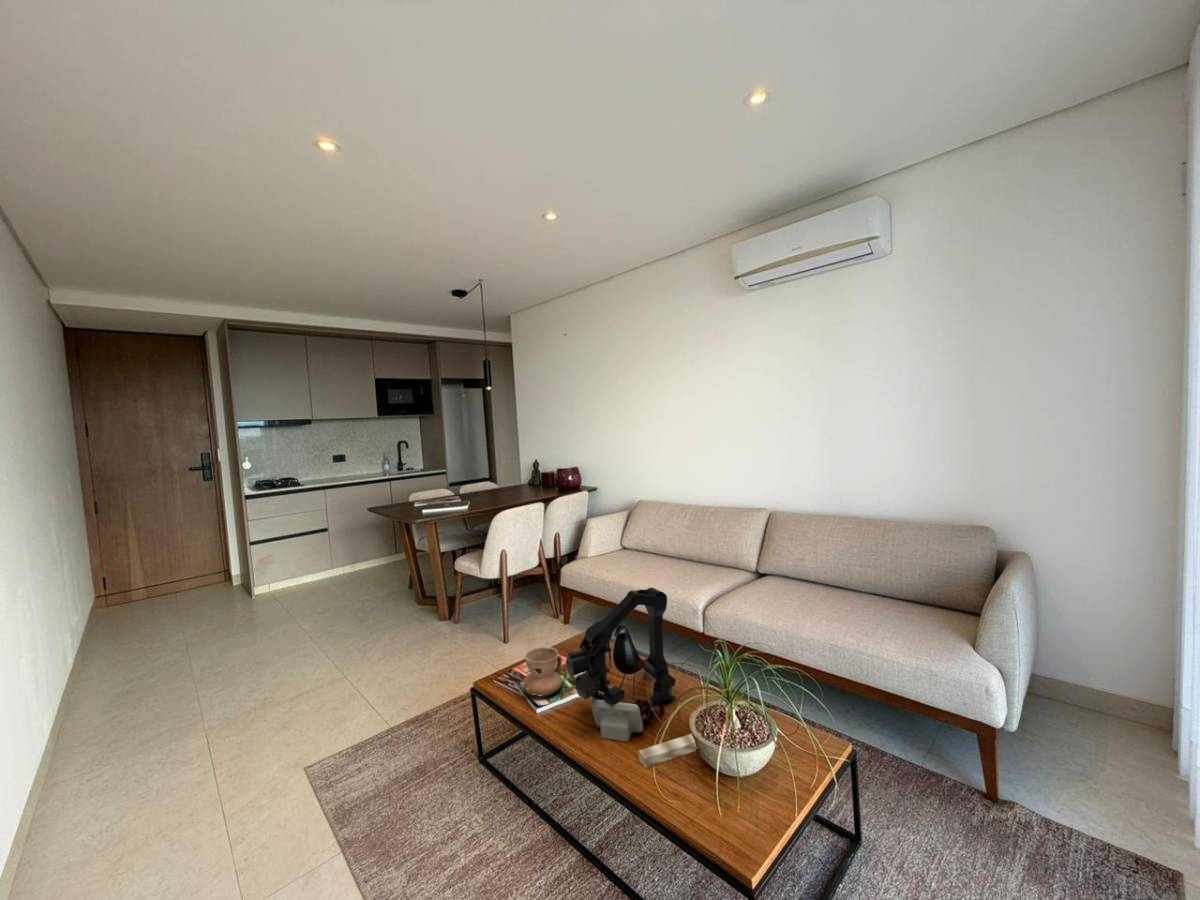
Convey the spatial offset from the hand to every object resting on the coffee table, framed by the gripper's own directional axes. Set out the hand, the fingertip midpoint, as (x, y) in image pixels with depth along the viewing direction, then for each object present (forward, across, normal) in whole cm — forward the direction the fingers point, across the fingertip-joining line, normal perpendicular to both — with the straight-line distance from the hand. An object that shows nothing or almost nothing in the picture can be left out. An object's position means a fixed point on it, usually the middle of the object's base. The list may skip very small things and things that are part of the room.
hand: (600, 712), depth 163 cm
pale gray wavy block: (+4, +26, +3) cm, 27 cm away
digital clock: (+4, +8, 0) cm, 9 cm away
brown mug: (+4, -32, 0) cm, 32 cm away
